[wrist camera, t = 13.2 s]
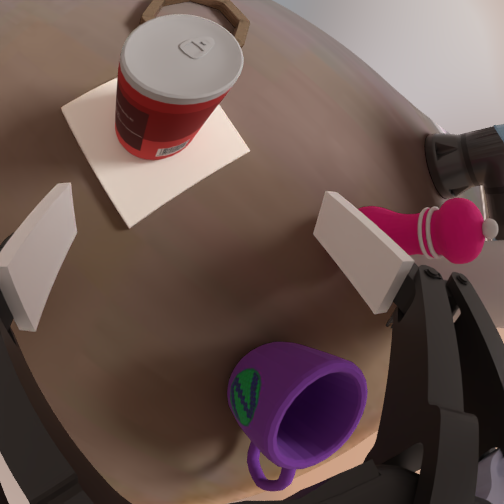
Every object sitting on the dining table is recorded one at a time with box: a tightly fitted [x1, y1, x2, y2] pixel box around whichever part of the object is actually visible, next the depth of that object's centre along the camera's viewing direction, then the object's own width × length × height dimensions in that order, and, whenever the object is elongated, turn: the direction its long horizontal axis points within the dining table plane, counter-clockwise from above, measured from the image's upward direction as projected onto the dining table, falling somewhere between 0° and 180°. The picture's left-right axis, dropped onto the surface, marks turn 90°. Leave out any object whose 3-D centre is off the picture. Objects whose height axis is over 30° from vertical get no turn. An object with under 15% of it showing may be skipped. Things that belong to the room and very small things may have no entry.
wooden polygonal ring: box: [140, 0, 250, 48], centre depth 24 cm, size 13×13×2 cm
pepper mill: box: [358, 198, 498, 264], centre depth 25 cm, size 7×7×20 cm
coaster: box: [61, 77, 250, 229], centre depth 23 cm, size 14×14×1 cm
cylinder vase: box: [409, 240, 504, 328], centre depth 31 cm, size 12×12×25 cm
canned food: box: [115, 14, 244, 160], centre depth 18 cm, size 8×8×11 cm
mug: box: [227, 342, 367, 491], centre depth 23 cm, size 17×11×10 cm, turn 162°
